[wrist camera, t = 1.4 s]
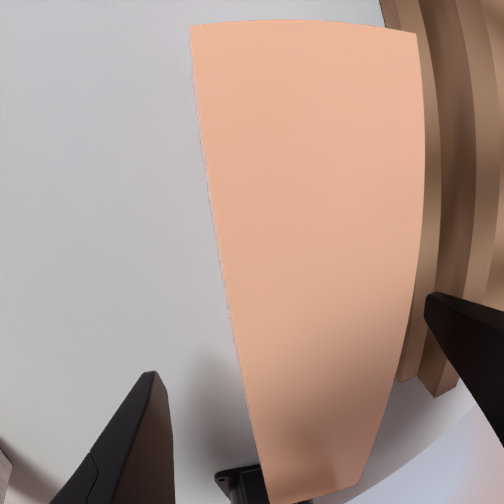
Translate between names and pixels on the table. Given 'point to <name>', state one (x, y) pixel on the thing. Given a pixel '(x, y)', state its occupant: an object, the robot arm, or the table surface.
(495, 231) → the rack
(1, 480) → the supplement box
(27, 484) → the table surface
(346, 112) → the peach rectangular block
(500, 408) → the robot arm
